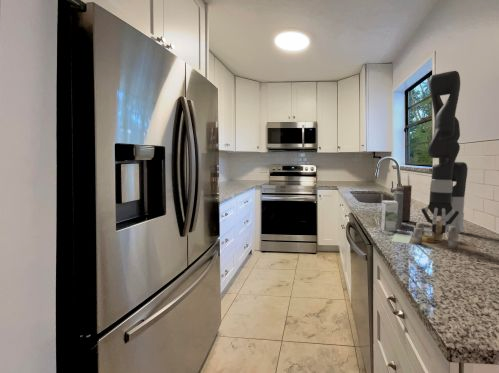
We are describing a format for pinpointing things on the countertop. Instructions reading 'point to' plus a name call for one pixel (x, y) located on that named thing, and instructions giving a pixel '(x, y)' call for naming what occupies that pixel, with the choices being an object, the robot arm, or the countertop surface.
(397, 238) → the green pad
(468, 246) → the board
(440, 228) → the light wood t-shaped block
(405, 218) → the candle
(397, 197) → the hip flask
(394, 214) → the syrup box
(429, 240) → the gold star hexagon
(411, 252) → the countertop surface
